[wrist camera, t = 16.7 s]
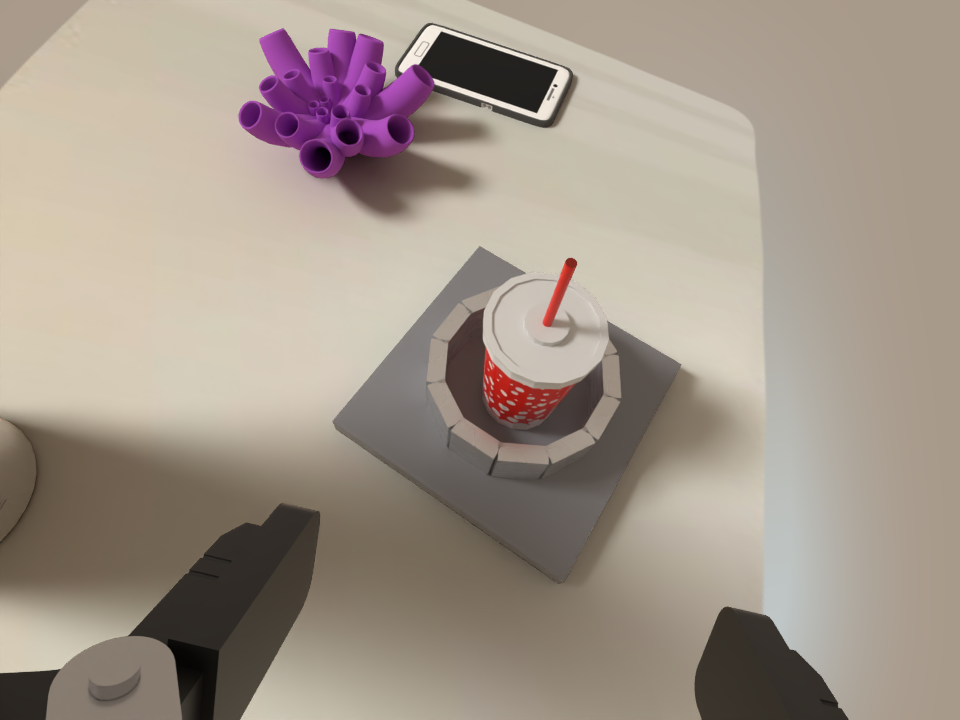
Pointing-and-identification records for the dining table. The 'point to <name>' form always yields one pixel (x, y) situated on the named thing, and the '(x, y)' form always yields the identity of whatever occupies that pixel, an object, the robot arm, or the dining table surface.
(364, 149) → the purple tube coral
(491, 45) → the cell phone
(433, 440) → the flange board
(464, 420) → the collar
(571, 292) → the beverage cup
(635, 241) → the dining table surface
